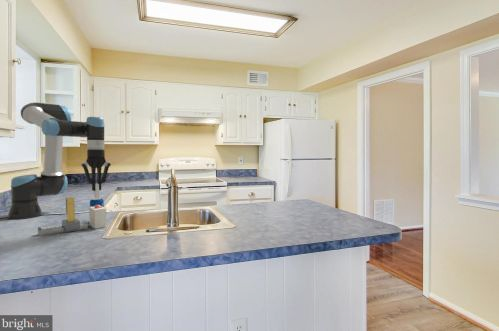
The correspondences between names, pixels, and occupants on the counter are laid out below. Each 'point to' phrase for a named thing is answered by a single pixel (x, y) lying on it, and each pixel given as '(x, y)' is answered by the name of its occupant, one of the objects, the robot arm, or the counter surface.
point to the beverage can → (96, 202)
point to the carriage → (70, 216)
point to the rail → (58, 229)
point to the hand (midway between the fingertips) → (96, 197)
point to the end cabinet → (97, 217)
